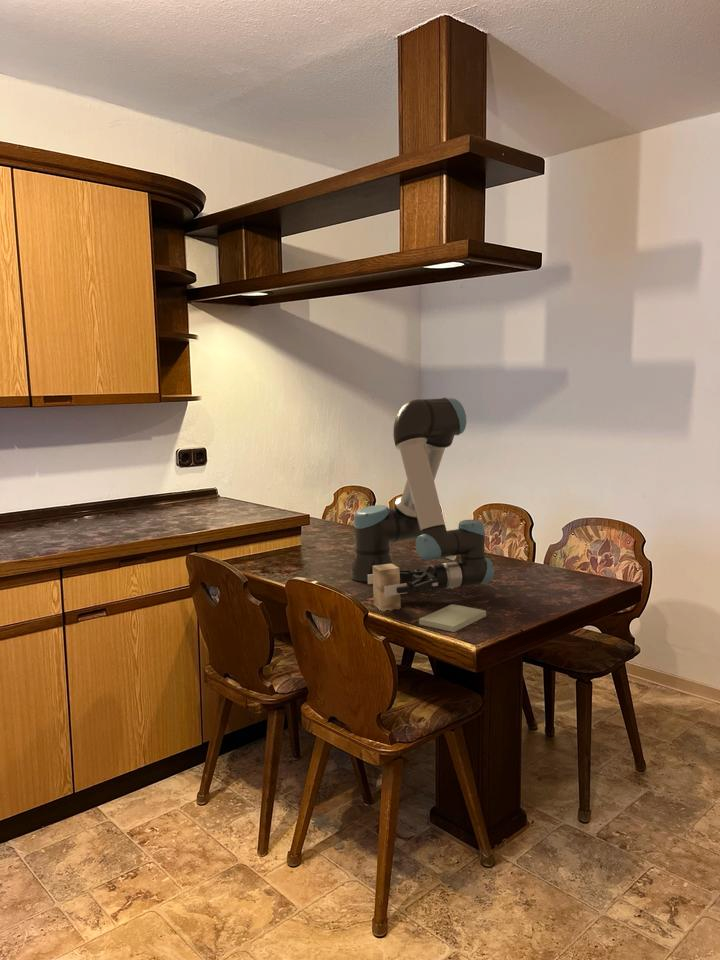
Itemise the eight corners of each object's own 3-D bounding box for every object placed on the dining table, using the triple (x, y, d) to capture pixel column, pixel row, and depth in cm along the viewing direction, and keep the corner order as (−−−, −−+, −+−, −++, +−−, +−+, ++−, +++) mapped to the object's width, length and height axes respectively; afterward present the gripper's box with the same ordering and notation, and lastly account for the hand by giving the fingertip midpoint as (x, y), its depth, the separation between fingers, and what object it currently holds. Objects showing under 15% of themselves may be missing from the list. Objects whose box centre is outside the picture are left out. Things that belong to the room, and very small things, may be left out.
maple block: (392, 603, 215) (391, 563, 213) (400, 608, 209) (399, 568, 208) (373, 605, 213) (372, 565, 211) (381, 611, 207) (379, 570, 206)
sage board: (452, 609, 207) (452, 604, 207) (486, 616, 200) (486, 610, 200) (419, 624, 195) (418, 618, 195) (453, 632, 188) (453, 626, 188)
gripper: (463, 599, 205) (393, 609, 198) (426, 578, 228) (362, 587, 221) (462, 573, 204) (392, 582, 197) (425, 555, 227) (361, 562, 220)
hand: (376, 585), depth 209 cm, fingers open, 13 cm apart
